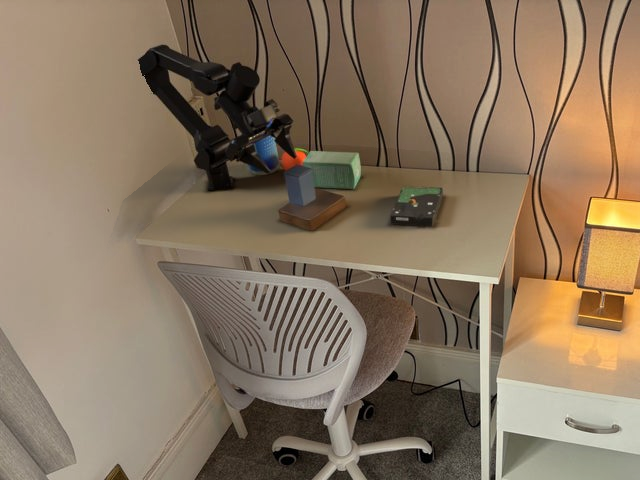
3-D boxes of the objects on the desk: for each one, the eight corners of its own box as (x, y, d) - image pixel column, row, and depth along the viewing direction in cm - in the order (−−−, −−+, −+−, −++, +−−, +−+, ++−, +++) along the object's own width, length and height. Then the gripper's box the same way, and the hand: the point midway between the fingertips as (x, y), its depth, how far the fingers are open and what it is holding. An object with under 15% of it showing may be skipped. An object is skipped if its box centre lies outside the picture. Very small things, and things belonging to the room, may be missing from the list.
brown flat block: (279, 220, 150) (277, 209, 148) (315, 197, 158) (313, 187, 156) (311, 231, 145) (309, 220, 143) (346, 207, 153) (345, 196, 151)
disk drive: (434, 228, 143) (443, 196, 154) (434, 217, 141) (443, 186, 153) (390, 225, 145) (402, 195, 156) (389, 215, 143) (401, 185, 155)
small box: (289, 202, 151) (283, 171, 146) (301, 194, 153) (296, 164, 149) (303, 206, 148) (298, 175, 144) (316, 198, 151) (311, 168, 146)
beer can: (270, 177, 169) (259, 120, 159) (244, 174, 171) (231, 118, 162) (285, 164, 175) (275, 108, 165) (259, 161, 177) (248, 106, 168)
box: (355, 189, 160) (352, 162, 156) (305, 188, 163) (301, 161, 158) (362, 177, 166) (359, 150, 161) (313, 176, 168) (309, 150, 164)
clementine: (312, 165, 173) (309, 141, 169) (313, 176, 168) (309, 151, 163) (283, 169, 173) (279, 144, 168) (283, 179, 167) (279, 155, 163)
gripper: (221, 105, 135) (268, 162, 136) (280, 79, 147) (322, 132, 148) (206, 134, 143) (250, 187, 145) (263, 107, 155) (303, 157, 156)
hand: (282, 165), depth 148 cm, fingers open, 9 cm apart
